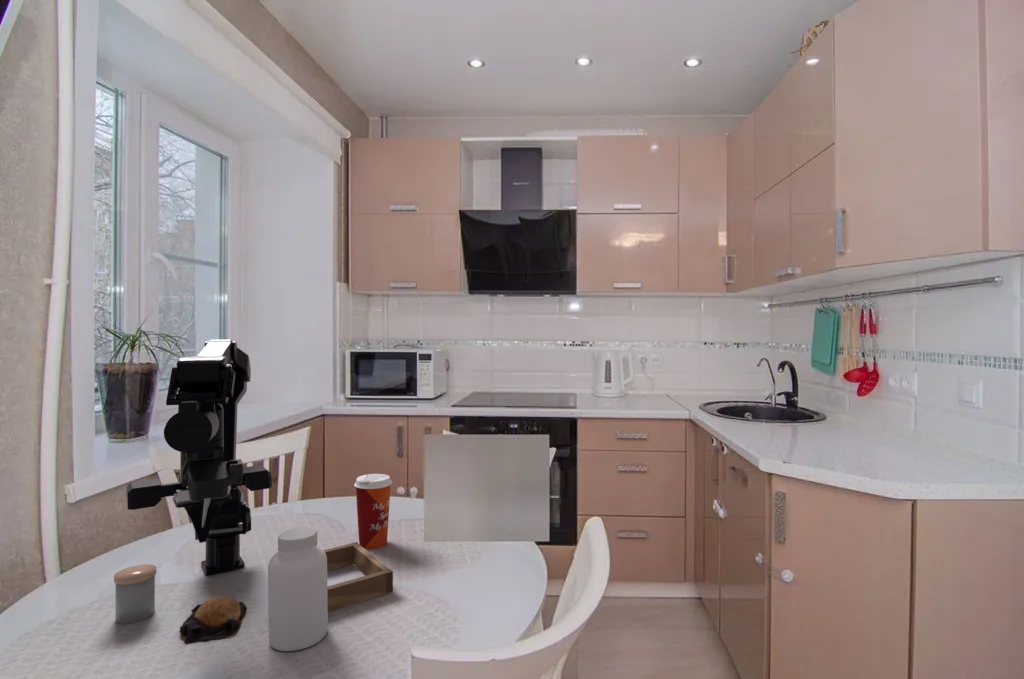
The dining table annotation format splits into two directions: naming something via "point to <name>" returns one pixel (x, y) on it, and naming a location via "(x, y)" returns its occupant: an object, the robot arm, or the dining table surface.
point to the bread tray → (359, 588)
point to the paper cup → (373, 509)
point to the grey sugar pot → (135, 593)
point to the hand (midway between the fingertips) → (202, 541)
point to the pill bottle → (297, 591)
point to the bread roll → (213, 620)
